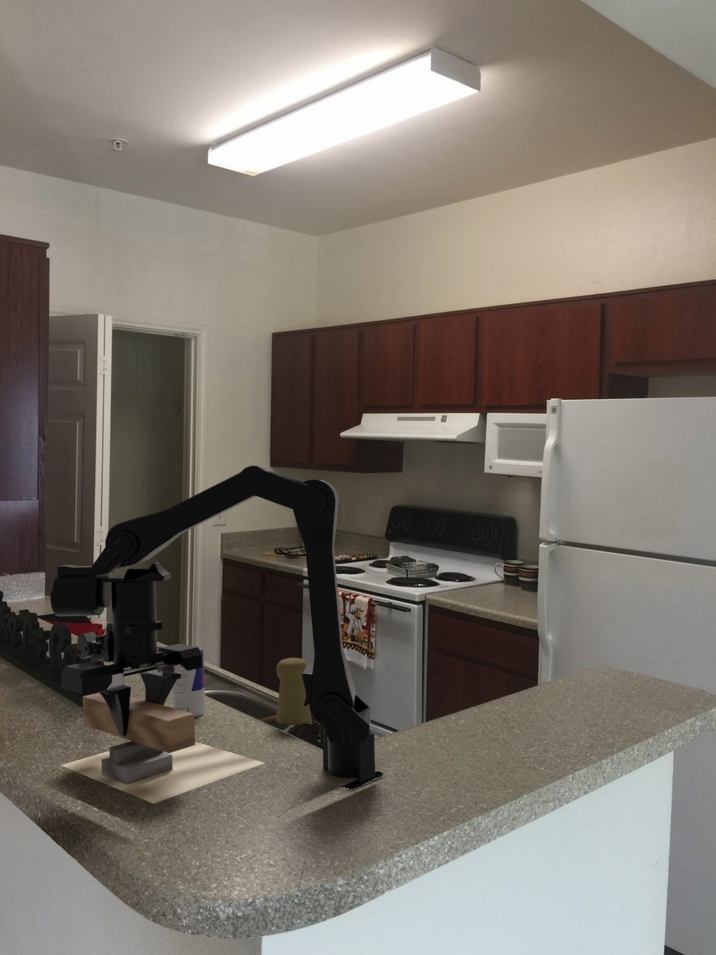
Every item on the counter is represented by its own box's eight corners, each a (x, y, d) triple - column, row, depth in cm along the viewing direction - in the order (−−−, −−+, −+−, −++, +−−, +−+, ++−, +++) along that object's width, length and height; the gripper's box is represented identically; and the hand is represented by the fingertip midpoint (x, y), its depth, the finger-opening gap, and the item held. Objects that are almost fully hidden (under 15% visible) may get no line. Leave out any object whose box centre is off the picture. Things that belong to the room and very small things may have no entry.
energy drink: (211, 718, 139) (210, 647, 139) (190, 726, 135) (188, 653, 135) (187, 714, 142) (186, 644, 142) (165, 722, 137) (164, 650, 137)
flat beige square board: (265, 771, 112) (264, 733, 112) (154, 813, 99) (153, 769, 99) (169, 741, 127) (168, 707, 127) (60, 773, 113) (59, 736, 113)
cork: (307, 733, 129) (305, 663, 130) (270, 732, 131) (268, 662, 131) (316, 722, 135) (315, 655, 135) (281, 721, 137) (279, 654, 137)
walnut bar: (195, 745, 105) (194, 713, 105) (168, 753, 102) (168, 720, 102) (108, 718, 118) (108, 690, 118) (83, 725, 115) (82, 696, 115)
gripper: (157, 601, 122) (160, 706, 122) (38, 619, 108) (40, 737, 108) (204, 607, 115) (207, 719, 115) (82, 627, 101) (85, 754, 101)
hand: (136, 731), depth 110 cm, fingers closed on walnut bar, 4 cm apart
